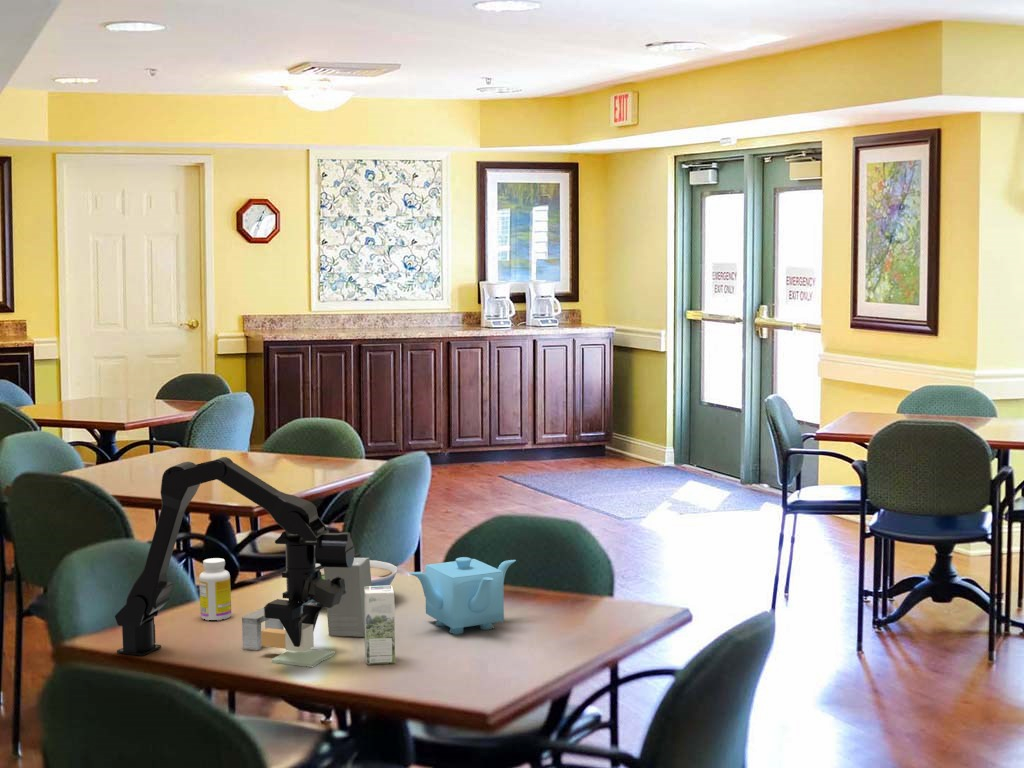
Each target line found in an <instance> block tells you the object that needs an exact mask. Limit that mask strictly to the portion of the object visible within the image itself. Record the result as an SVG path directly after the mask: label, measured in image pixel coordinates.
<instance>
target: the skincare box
mask: <svg viewBox="0 0 1024 768" xmlns="http://www.w3.org/2000/svg"><path fill="white" fill-rule="evenodd" d="M370 560H371V559H370V557H357V558H354V561H353V564H352V566H351V568H341V567H324V576H325V580H328V579H330V581H331V580H332V579H334V578H335V577H338V576H339V577H341V578H343V579H344V582H345V591H346V593H345V594H344V595H342V597H341V600H340V603H339V604H338V605H337V604H336V605H334V606H333V607H332V608H327V607H326V614H327V629H328V636H329V635H330V636H331V637H332V636H333V637H357V638H358V637H359V638H361V637H362V638H365V616H364V587H365V586H372V585H371V572H370Z"/></svg>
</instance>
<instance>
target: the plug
mask: <svg viewBox="0 0 1024 768" xmlns="http://www.w3.org/2000/svg"><path fill="white" fill-rule="evenodd" d="M314 642H315V641H314V632H313V624H304V623H302V630H301V642H300V646H299V647H295V646H294V645H293V643H292V641H291V639H290V637H289V635H288V633H287V632H286V630H285V629H284V630H281V629H272V628H267V629H265V628H264V629H263V630H261V644H262V647H267V648H275V649H285V651H298V652H305V651H306V650H308V649H313V648H314V645H315V644H314Z"/></svg>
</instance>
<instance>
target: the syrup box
mask: <svg viewBox="0 0 1024 768" xmlns="http://www.w3.org/2000/svg"><path fill="white" fill-rule="evenodd" d="M395 607H396V606H395V591H394V588H393V585H391V584H390V585H386V586H365V587H364V616H365V636H364V655H365V656H364V657H365V662H366V665H385V664H386V665H387V664H388V665H389V663H390V664H395V663H396V631H395V630H396V628H395V627H396V626H395V625H396V622H395V618H396V617H395V614H396V613H395V609H396V608H395Z"/></svg>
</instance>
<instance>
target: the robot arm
mask: <svg viewBox="0 0 1024 768" xmlns="http://www.w3.org/2000/svg"><path fill="white" fill-rule="evenodd" d="M215 480H217V481H219V482H220V483H222V484H224V485H225V486H227V487H229V488H230V489H232V490H234V491H235V492H237V493H239V495H242V496H243V497H245V498H246V499H248V500H249V501H251V502H253V503H254V504H255V505H257V506H259V507H261V508H262V509H264V510H265V511H266V512H267V513H269V514H270V516H271V518H272V519H273V521H274V522H275V523H277V525H278V526H280V527H281V528H282V529H283V530H284V531H282V532H281V534H280V536H279V537H277V538H276V540H274V543H275V544H276V545H285V568H286V569H285V571H283V572H281V578H285V579H286V591H283V592H282V593H281V594H282V599H280V598H276V599H274V600H273V601H270V602H268V603H266V604H265V606H264V607H263V608H264V617H265V618H272V619H279V620H280V622H281V623H282V625H283V626H284V630H286V632H287V633H288V635H289V637H290V639H291V641H292V643H293V645H294V646H295V647H299V646H300V642H301V630H302V623H304V624H313V633H314V632H315V628H316V623H317V621H318V618H319V614H320V613H321V612H322V611H323V610H324V609H325V608H326V609H327V608H332V607H333V606H334V605H336V604H337V605H338V604H339V603H340V600H341V597H342V595H344V594H345V593H346V591H345V582H344V579H343V578H341V577H339V576H338V577H335V578H334V579H332V580H331V581H330V579H328V580H325V579H323V578H322V577H321V572H320V569H316V565H315V564H320V565H321V566H322V567H341V568H351V566H352V564H353V561H354V555H356V554H355V553H356V552H355V551H356V550H355V549H356V548H355V546H354V542H353V540H352V538H351V533H350V532H349V531H348V532H346V531H345V532H330V530H329V529H328V527H327V526H326V525H325V523H324V522H323V521H322V519H321V517H319V515H318V513H319V512H318V510H317V509H318V508H317V507H316V505H315V504H314V503H313V502H311V501H309V500H307V499H304V498H302V497H299V496H297V495H294V494H293V495H292V494H289V493H285V492H282V491H281V490H278V489H276V488H275V487H273V486H271V484H269V483H267V482H265V481H264V480H262V479H261V478H259V477H257V476H256V475H254V474H252V473H251V472H249V471H248V470H247V469H245V468H243V467H242V466H240V465H239V464H237V463H235V462H234V461H233V460H232V459H231V458H230V457H228V456H222V457H220V458H217V459H214V460H209V461H205V462H200V463H197V464H196V463H194V462H191V461H184V462H180V463H178V464H175V465H173V466H169V468H167V469H165V471H164V472H163V474H162V477H161V483H160V497H161V508H160V509H161V510H160V512H159V517H158V519H157V522H156V526H155V529H154V532H153V536H152V540H151V543H150V545H149V546H150V547H149V549H148V554H147V557H146V560H145V564H144V567H143V569H142V572H141V573H140V574H139V576H138V577H137V578H136V580H135V582H134V583H133V585H132V586H131V589H130V591H129V593H128V595H127V597H126V601H125V605H124V606H123V607H121V609H120V610H119V611H118V612H117V613H116V614H115V616H114V618H115V621H116V624H117V625H118V626H119V627H121V631H122V633H121V634H122V647H121V648H119V649H116V653H117V654H123V655H134V656H145V655H148V654H150V653H152V652H154V651H157V650H159V649H161V648H162V644H156V625H155V617H157V616H158V615H159V612H160V609H161V608H163V607H164V606H165V604H167V603H168V602H170V600H171V598H170V595H171V591H172V590H173V587H174V585H175V584H174V582H170V581H168V577H167V575H168V574H167V573H168V569H169V565H170V562H171V559H172V555H173V551H174V548H175V545H176V541H177V538H178V535H179V531H180V529H181V525H182V522H183V521H182V520H183V518H184V515H185V512H186V509H187V508H188V506H189V504H190V502H191V501H192V500H193V498H194V497H195V495H196V494H197V492H198V489H199V487H200V486H201V484H204V483H205V484H206V483H209V482H213V481H215Z"/></svg>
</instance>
